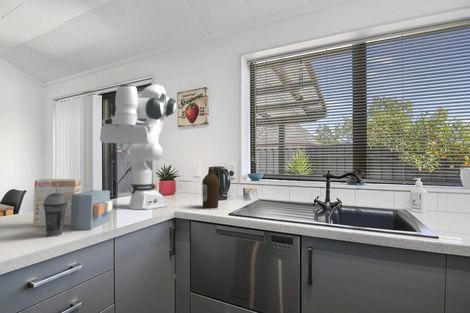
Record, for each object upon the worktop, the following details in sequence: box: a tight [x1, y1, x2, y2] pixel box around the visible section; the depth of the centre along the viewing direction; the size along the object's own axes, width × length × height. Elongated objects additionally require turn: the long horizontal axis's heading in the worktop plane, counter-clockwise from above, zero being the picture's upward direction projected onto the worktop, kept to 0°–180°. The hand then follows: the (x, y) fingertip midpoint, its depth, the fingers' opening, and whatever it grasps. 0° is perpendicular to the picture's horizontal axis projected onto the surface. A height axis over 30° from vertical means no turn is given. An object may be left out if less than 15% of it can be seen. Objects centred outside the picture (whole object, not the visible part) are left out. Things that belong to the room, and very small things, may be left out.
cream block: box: [103, 200, 114, 212], centre depth 103 cm, size 6×4×4 cm, turn 91°
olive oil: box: [201, 166, 220, 210], centre depth 141 cm, size 11×11×25 cm
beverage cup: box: [43, 181, 67, 237], centre depth 86 cm, size 7×7×20 cm
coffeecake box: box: [32, 178, 82, 228], centre depth 100 cm, size 15×7×20 cm, turn 105°
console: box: [70, 189, 111, 231], centre depth 99 cm, size 8×14×14 cm, turn 1°
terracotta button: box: [93, 204, 104, 215], centre depth 96 cm, size 6×4×4 cm, turn 91°
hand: (125, 153), depth 98 cm, fingers closed
